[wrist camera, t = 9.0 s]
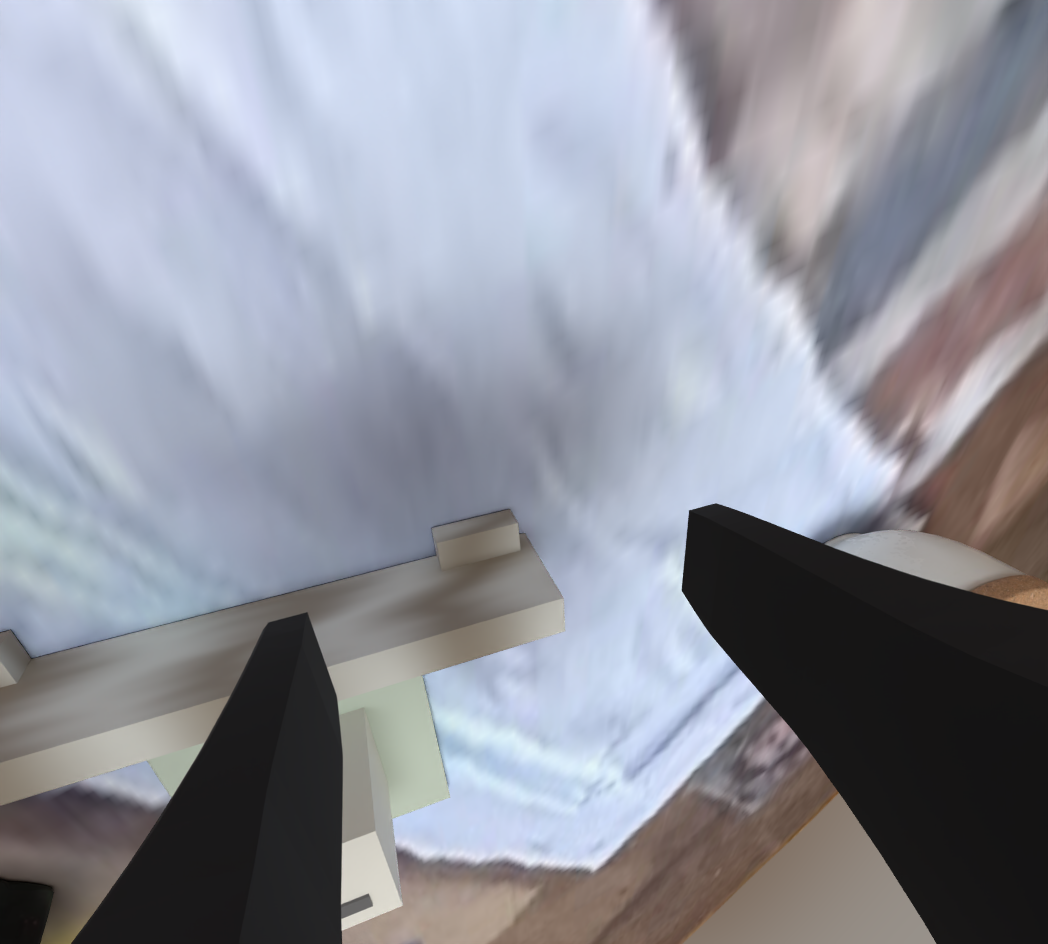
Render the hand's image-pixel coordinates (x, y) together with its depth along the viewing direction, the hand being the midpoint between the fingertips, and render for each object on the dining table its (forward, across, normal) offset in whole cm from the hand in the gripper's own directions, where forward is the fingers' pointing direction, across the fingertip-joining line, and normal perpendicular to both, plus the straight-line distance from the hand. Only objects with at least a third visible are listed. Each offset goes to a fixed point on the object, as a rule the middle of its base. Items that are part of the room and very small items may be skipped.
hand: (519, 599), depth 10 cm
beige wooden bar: (+9, +7, +6) cm, 13 cm away
